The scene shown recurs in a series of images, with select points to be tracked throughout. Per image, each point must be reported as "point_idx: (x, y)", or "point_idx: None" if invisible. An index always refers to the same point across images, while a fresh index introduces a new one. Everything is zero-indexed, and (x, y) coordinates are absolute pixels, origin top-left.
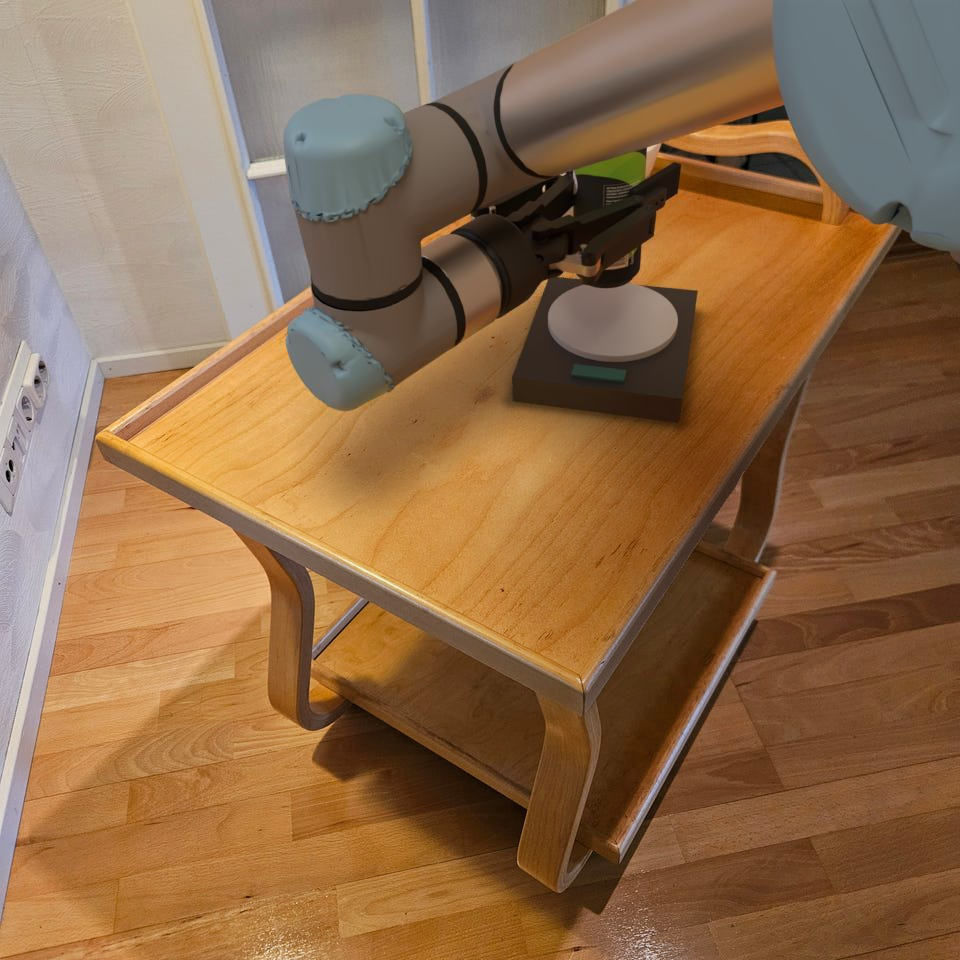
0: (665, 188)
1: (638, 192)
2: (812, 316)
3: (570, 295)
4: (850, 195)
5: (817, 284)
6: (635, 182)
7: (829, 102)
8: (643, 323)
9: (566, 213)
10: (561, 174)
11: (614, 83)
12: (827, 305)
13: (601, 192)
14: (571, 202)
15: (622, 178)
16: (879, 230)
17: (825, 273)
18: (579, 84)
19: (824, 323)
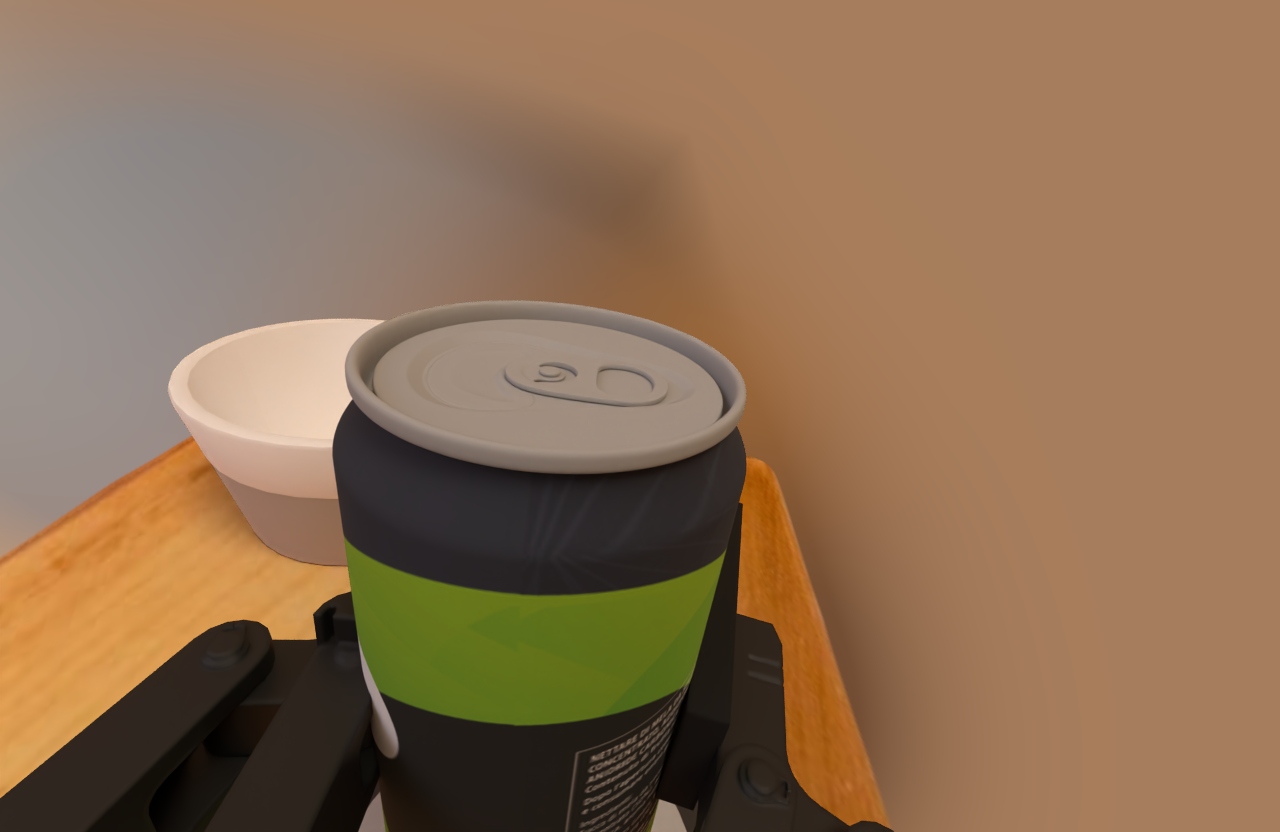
0: (767, 624)
1: (729, 714)
2: (809, 650)
3: (379, 826)
4: None
5: (769, 577)
6: (696, 659)
7: None
8: None
9: (340, 527)
10: (319, 464)
11: None
12: (809, 618)
13: (559, 780)
14: (366, 789)
15: (667, 686)
16: (765, 474)
17: (764, 554)
18: None
19: (834, 661)
